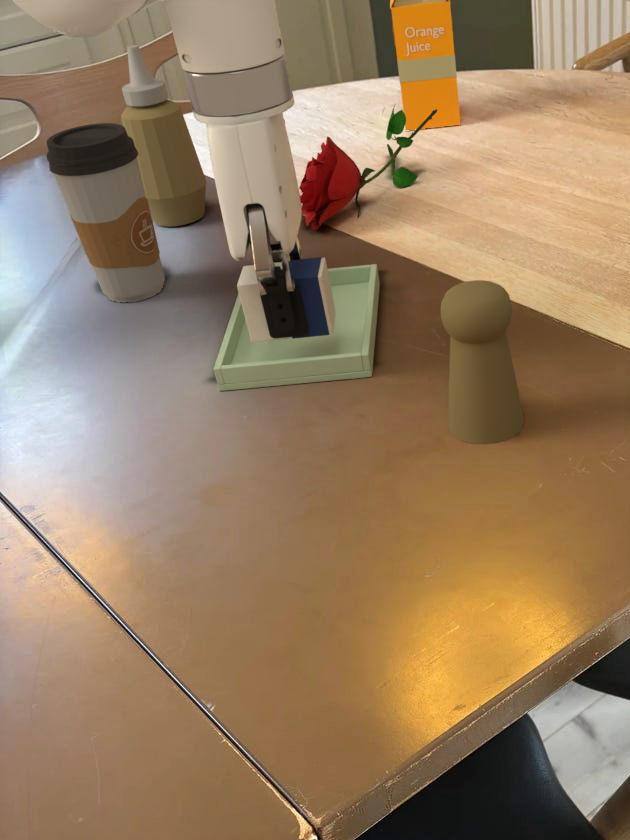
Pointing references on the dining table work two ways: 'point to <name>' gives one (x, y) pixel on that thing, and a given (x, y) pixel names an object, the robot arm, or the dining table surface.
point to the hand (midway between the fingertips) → (292, 320)
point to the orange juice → (426, 62)
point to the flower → (348, 175)
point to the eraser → (313, 293)
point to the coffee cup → (108, 208)
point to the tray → (307, 341)
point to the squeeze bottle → (162, 147)
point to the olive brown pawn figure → (481, 364)
